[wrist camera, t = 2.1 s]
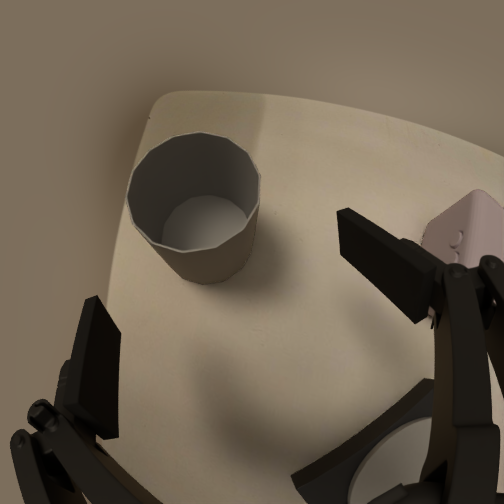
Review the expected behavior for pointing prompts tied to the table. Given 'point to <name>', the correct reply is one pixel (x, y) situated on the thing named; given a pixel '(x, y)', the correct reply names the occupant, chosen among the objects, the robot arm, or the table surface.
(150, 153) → the cup
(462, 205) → the electronic device
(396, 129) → the table surface
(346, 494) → the scale
